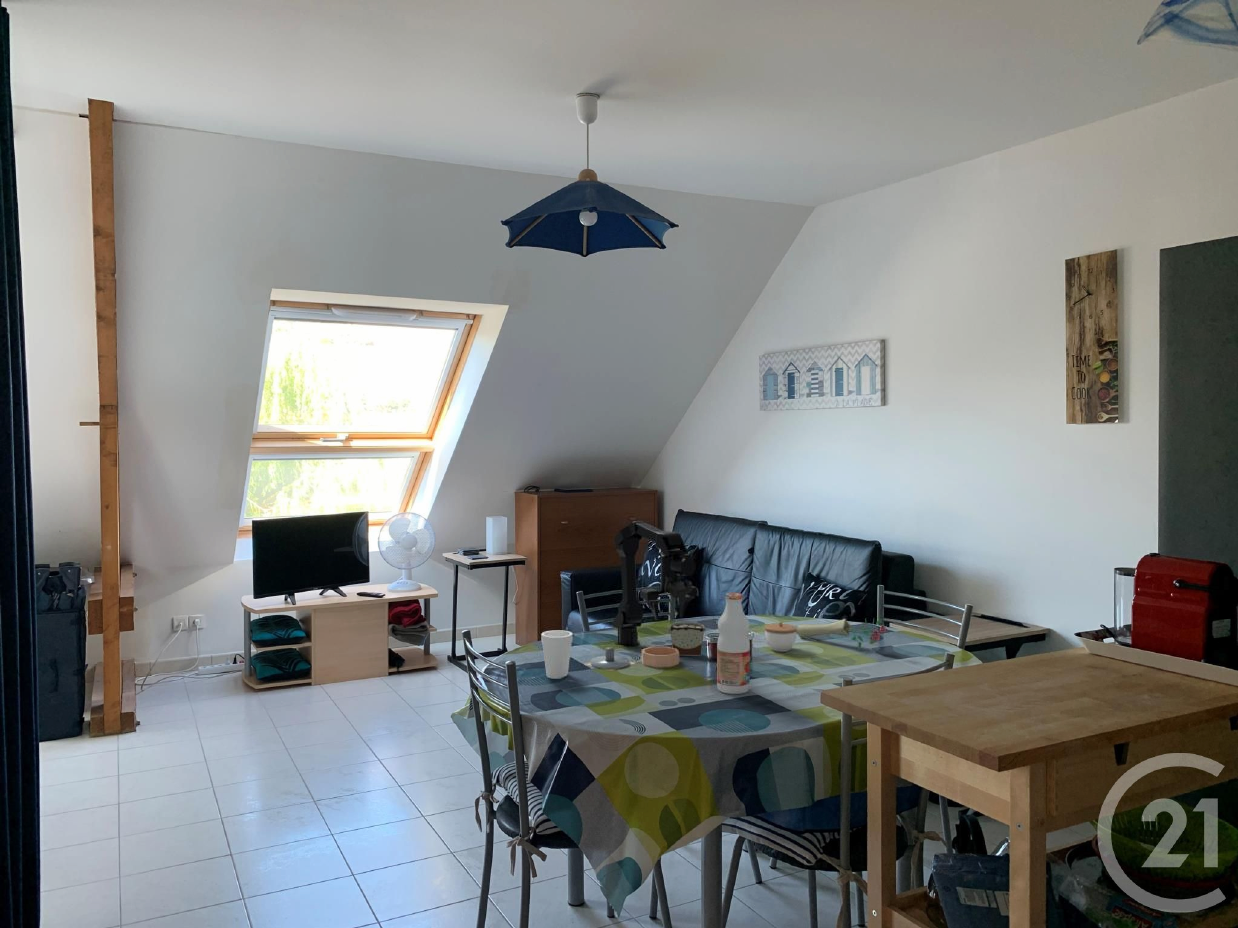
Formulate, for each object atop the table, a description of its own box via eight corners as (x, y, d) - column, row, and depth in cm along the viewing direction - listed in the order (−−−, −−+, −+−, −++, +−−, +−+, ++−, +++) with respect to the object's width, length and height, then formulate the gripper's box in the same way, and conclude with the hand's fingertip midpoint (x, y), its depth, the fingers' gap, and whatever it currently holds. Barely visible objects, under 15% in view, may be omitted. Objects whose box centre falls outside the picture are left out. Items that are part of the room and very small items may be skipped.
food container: (705, 651, 313) (705, 622, 312) (705, 656, 307) (705, 626, 306) (669, 650, 314) (669, 621, 313) (668, 655, 308) (668, 625, 307)
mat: (583, 665, 295) (583, 664, 295) (608, 657, 304) (608, 656, 304) (611, 672, 287) (611, 670, 287) (636, 664, 296) (636, 662, 296)
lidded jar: (761, 651, 313) (761, 624, 312) (768, 644, 322) (768, 617, 322) (793, 654, 309) (793, 626, 308) (799, 647, 318) (799, 620, 318)
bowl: (634, 663, 297) (634, 651, 297) (657, 656, 306) (657, 644, 305) (663, 670, 289) (663, 657, 289) (685, 662, 298) (685, 650, 298)
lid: (582, 664, 295) (582, 648, 295) (608, 656, 304) (608, 641, 304) (611, 671, 287) (611, 655, 287) (637, 663, 296) (637, 647, 296)
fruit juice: (712, 686, 272) (713, 592, 271) (742, 684, 274) (743, 590, 273) (723, 695, 263) (723, 598, 261) (754, 693, 265) (755, 596, 264)
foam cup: (577, 673, 286) (577, 631, 285) (565, 681, 277) (565, 638, 276) (548, 670, 289) (548, 629, 288) (536, 678, 280) (536, 635, 280)
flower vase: (810, 657, 334) (898, 652, 310) (790, 653, 326) (879, 648, 302) (810, 624, 338) (897, 617, 313) (790, 619, 330) (878, 611, 305)
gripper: (655, 577, 289) (655, 626, 290) (707, 573, 297) (706, 621, 298) (639, 571, 299) (639, 619, 300) (689, 567, 307) (689, 614, 308)
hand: (669, 618), depth 301 cm, fingers open, 9 cm apart
